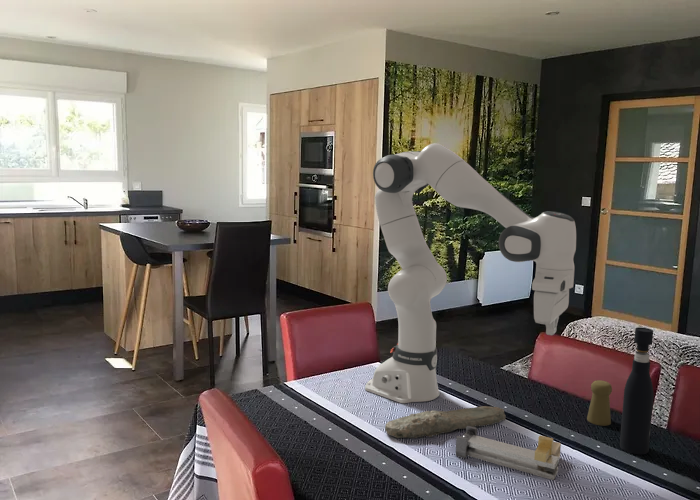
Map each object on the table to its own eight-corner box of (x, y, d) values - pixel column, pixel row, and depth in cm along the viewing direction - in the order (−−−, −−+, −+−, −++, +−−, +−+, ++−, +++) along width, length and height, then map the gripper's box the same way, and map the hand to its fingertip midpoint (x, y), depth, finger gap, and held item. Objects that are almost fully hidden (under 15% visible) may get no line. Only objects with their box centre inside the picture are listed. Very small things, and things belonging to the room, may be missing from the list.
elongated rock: (514, 430, 157) (492, 417, 166) (515, 410, 157) (493, 398, 166) (395, 444, 144) (378, 429, 154) (396, 423, 144) (379, 409, 153)
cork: (613, 426, 156) (616, 387, 155) (589, 424, 157) (592, 385, 156) (608, 417, 162) (611, 378, 160) (585, 415, 163) (587, 377, 162)
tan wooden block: (537, 464, 136) (538, 450, 135) (544, 453, 141) (545, 439, 141) (553, 469, 134) (554, 454, 133) (559, 457, 139) (560, 443, 139)
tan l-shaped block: (532, 459, 130) (533, 443, 130) (538, 450, 135) (539, 435, 134) (546, 463, 129) (547, 447, 128) (552, 453, 133) (553, 438, 132)
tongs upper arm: (457, 447, 140) (458, 437, 140) (465, 439, 144) (465, 429, 144) (553, 473, 129) (554, 462, 128) (558, 464, 133) (559, 453, 132)
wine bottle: (614, 442, 147) (624, 326, 143) (638, 441, 148) (649, 325, 143) (628, 455, 141) (639, 333, 136) (654, 454, 141) (665, 333, 137)
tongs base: (455, 455, 140) (456, 436, 139) (466, 443, 146) (467, 425, 145) (551, 483, 128) (553, 462, 127) (559, 469, 134) (561, 449, 133)
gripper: (551, 270, 154) (548, 322, 156) (530, 284, 137) (526, 341, 139) (576, 273, 151) (573, 326, 153) (558, 287, 134) (554, 346, 136)
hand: (551, 333), depth 146 cm, fingers closed
